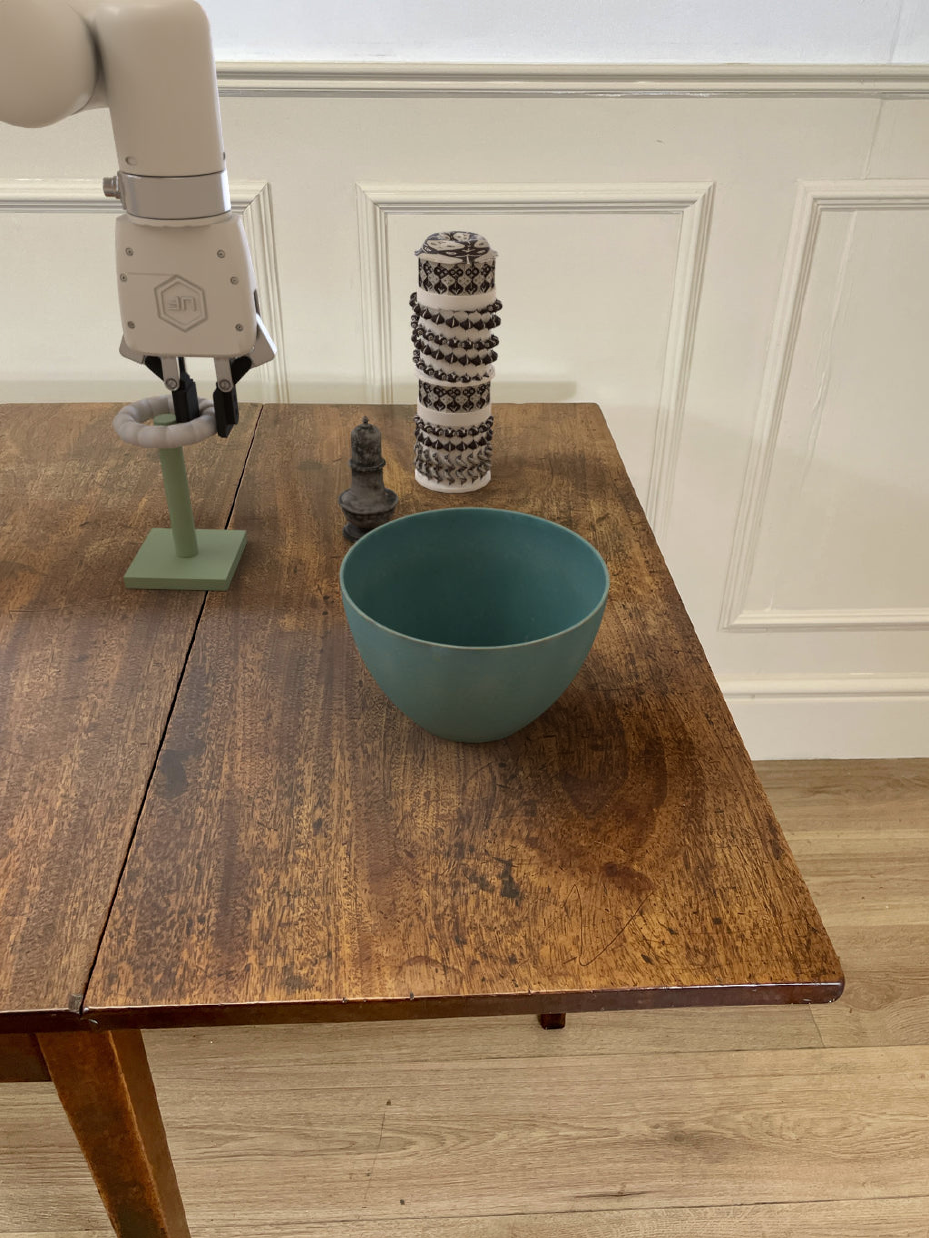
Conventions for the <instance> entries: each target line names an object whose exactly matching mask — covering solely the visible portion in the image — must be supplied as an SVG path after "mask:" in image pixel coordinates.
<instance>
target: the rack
mask: <svg viewBox="0 0 929 1238" xmlns="http://www.w3.org/2000/svg"><path fill="white" fill-rule="evenodd" d="M152 421H153V426H170V425H175V424H180V423H177V422H176V417H175V415H173V414H162V415H158V416H156V417H154V419H152ZM183 447H184V446H182V447H177V448H157V449H158V451H157V452H158V455H159V461H160V467H161V473H162V479H163V485H164V491H165V497H166V501H167V508H168V516H169V520H170V527H171V528H168V527H167V528H165V527H152V528H151V529H150V531H149V533H148V534H147V536H146V537H145V540H144V541H143V543H142V544H141V546H140V548H139V550H138V552H137V553H136V554H135V556H134V558H133V559H132V562H131V563H130V565H129V567H128V568H127V570H126V572H125V574H124V575H123V577H122V578H123V583H124V587H125V589H134V590H135V589H136V590H137V589H138V590H174V591H175V590H176V591H177V590H178V591H214V592H215V591H216V592H217V591H218V592H219V591H220V592H228V591H229V588H230V585H231V583H232V581H233V578H234V576H235V573H236V570H237V568H238V565H239V564H240V560H241V558H242V556H243V553H244V550H245V548H246V546H247V543H248V534H247V530H246V529H207V528H196V526H195V518H194V512H193V506H192V500H191V494H190V485H189V481H188V473H187V468H186V461H185V455H184V448H183Z"/></svg>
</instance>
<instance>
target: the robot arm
mask: <svg viewBox="0 0 929 1238" xmlns="http://www.w3.org/2000/svg"><path fill="white" fill-rule="evenodd" d="M215 58H216V57H215V48H214V40H213V32H212V26H211V22H210V18H209V16H208V13H207V11H206V9H205V8H204V7H203V5H201V4H200V3H199V2H198V1H196V0H0V122H2V123H5V124H7V125H11V126H13V127H18V128H25V129H42V128H45V127H49V126H52V125H55V124H56V123H59V122H60V121H63V120H65V119H66V118H68V117H71V116H75V115H77V114H80V113H82V112H85V111H92V110H99V109H108V110H109V116H110V121H111V127H112V134H113V139H114V145H115V151H116V157H117V158H116V159H117V164H118V170H117V171H116V175H113V176H112V177H109V176H108V177H103V178H102V191H103V195H104V196H105V197H106V198H114V199H116V200H120V203H121V205H122V210H123V211H125V213H123V214H121V215H119V216H117V217H116V218H115V227H114V228H115V229H114V231H115V232H114V249H115V251H114V252H115V272H116V284H117V285H116V286H117V295H118V297H117V298H118V305H119V312H120V313H119V315H120V322H121V329H122V337H121V340H120V343H119V348H118V353H119V354H120V356H122V357H123V358H125V359H127V360H130V361H132V362H134V363H136V364H139V365H143V366H145V368H147V369H148V370H149V371H151V372H152V373H153V374H154V375H155V376H157V377H158V378H159V379H160V380H161V381H162V382H163V383H164V387H165V389H167V390H169V391H171V395H172V398H173V405H174V411H175V417H176V422H177V423H179V424H181V423H186V422H190V421H192V420H194V419H196V418H199V417H200V413H199V404H198V397H199V396H198V390H197V384H196V383H197V382H196V381H194V378H191V376H190V374H189V371H188V363H187V358H205V359H207V358H211V359H212V358H213V363H214V371H215V377H216V382H215V389H214V391H213V392H212V401H213V403H214V410H215V418H216V425H217V433H216V434H217V437H220V439H228V437H229V435H230V434H231V432H232V430H233V429H234V426H235V425H236V426H237V425H238V424H239V421H240V411H239V402H238V394H237V393H238V392H237V386H236V385H237V384H238V383H239V382H240V381H241V380H242V378H243V377H245V376H246V374H247V373H248V372H249V371H250V370H252V369H254V368H257V367H260V366H262V365H265V364H267V363H269V362H271V361H273V360H274V359H275V357H276V355H277V353H278V348H277V346H276V345H275V343H274V340H273V339H272V338H271V335H270V333H269V332H268V329H267V328H266V326H265V324H264V322H263V321H262V320H263V319H262V309H261V303H260V301H261V300H260V295H259V290H258V284H257V279H256V274H255V273H256V272H255V269H254V264H253V263H254V262H253V259H252V254H251V249H250V246H249V245H250V244H249V242H248V237H247V234H246V230H245V228H244V224H243V221H242V218H241V215H240V214H239V213H237V212H232V205H231V197H230V187H229V186H230V185H229V178H228V169H227V161H226V160H227V159H226V150H225V143H224V142H225V141H224V133H223V125H222V114H221V113H222V111H221V104H220V103H221V102H220V95H219V94H220V93H219V86H218V76H217V68H216V67H217V66H216V59H215ZM197 396H198V397H197Z"/></svg>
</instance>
